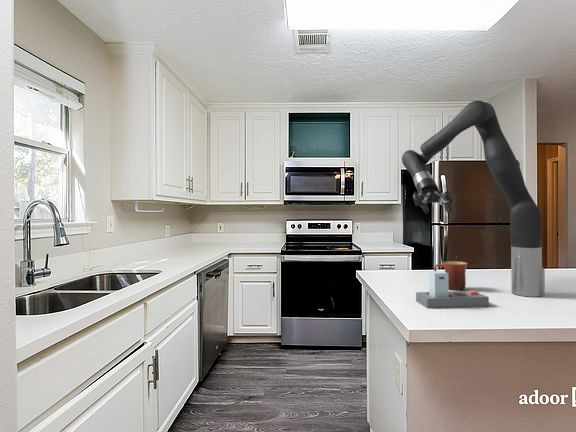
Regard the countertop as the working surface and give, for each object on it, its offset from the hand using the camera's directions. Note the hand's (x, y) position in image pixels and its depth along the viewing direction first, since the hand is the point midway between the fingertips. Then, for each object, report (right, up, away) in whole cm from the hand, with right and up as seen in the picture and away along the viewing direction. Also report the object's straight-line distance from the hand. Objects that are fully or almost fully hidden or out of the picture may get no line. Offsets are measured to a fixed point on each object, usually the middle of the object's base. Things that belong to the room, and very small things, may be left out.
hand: (438, 211), depth 137 cm
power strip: (-4, -31, -18) cm, 36 cm away
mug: (+7, -30, +4) cm, 32 cm away
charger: (-8, -30, -18) cm, 36 cm away
